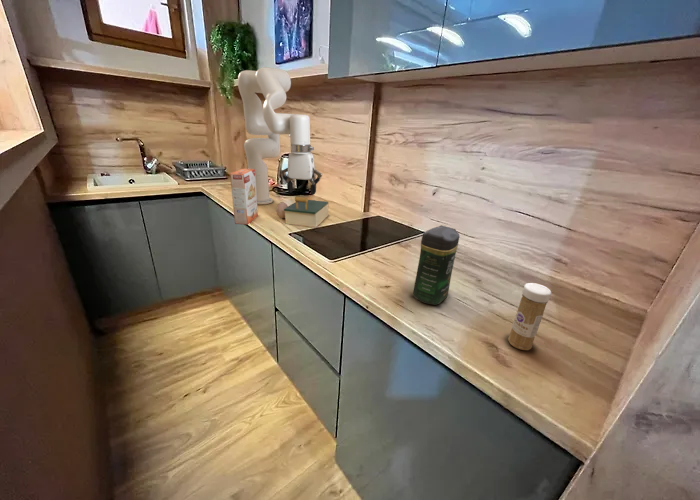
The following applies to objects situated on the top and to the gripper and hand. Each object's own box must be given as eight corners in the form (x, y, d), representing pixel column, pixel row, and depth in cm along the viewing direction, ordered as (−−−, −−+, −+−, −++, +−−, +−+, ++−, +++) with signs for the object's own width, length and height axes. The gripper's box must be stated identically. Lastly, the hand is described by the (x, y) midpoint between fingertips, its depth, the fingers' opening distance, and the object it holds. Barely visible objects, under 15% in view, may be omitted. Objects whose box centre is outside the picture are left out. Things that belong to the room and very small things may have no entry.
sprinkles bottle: (503, 340, 64) (519, 284, 59) (516, 334, 66) (533, 280, 61) (523, 354, 60) (542, 296, 55) (537, 347, 62) (557, 290, 57)
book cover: (315, 214, 123) (315, 200, 121) (284, 210, 126) (283, 196, 124) (328, 203, 140) (328, 191, 137) (300, 200, 142) (300, 188, 140)
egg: (290, 219, 135) (290, 202, 132) (278, 220, 132) (277, 203, 130) (287, 215, 139) (286, 200, 136) (275, 217, 137) (274, 200, 134)
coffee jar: (437, 309, 73) (450, 238, 66) (408, 298, 78) (417, 229, 71) (452, 294, 81) (465, 228, 73) (424, 284, 85) (434, 220, 78)
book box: (315, 227, 126) (315, 213, 124) (285, 223, 129) (284, 210, 127) (328, 215, 142) (328, 203, 140) (301, 212, 145) (300, 200, 142)
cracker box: (249, 225, 125) (244, 173, 116) (234, 224, 125) (228, 172, 116) (259, 215, 137) (255, 168, 129) (245, 215, 138) (241, 167, 129)
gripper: (324, 149, 119) (324, 193, 125) (283, 147, 122) (285, 190, 129) (318, 151, 112) (319, 197, 118) (275, 148, 115) (278, 193, 122)
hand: (301, 193), depth 124 cm, fingers open, 9 cm apart
